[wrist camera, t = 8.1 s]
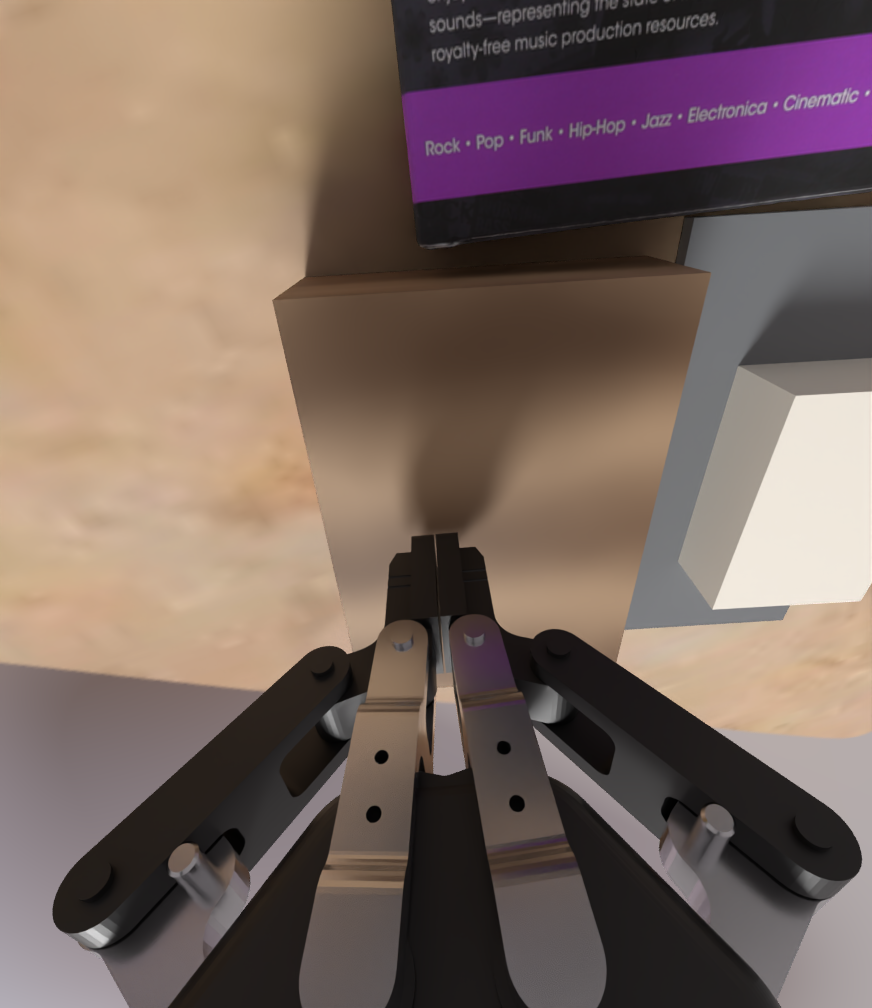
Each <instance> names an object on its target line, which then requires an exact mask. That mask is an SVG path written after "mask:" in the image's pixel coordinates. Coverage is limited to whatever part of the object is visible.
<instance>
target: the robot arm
mask: <svg viewBox="0 0 872 1008" xmlns="http://www.w3.org/2000/svg"><path fill="white" fill-rule="evenodd" d="M436 552H437V560H436ZM441 630H442V633H441ZM442 640H443V649H444V658H445V668H446V673H451V672H452V676H453V686H454V697H455V704H456V710H457V716H458V723H459V729H460V735H461V742H462V747H463V754H464V760H465V767H466V769H465V770H462V771H460V772H456V773H454V774H451V775H447V776H441V775H436V774H434V773H433V758H434V757H433V756H434V736H435V715H436V692H437V677H436V674H441V673H444V669H443V651H442ZM533 726H534V727H535V728H536V729H537V730H538V731H539V732H540V733H541V734H542V735H543V736H545V737H546V738H547V739H548V740H549V741H550V742H551V743H552V744H553V745H555V746H556V747H557V748H558V749H559V750H560V751H561V752H562V753H564V754H565V755H566V756H567V757H568V758H569V759H570V760H572V762H574V763H575V764H576V765H577V766H578V767H579V768H580V769H581V770H582V771H583V772H585V773H586V774H587V775H588V776H589V777H590V778H591V779H592V780H594V781H595V782H596V783H597V784H598V785H599V786H600V787H601V788H602V789H604V790H605V791H606V792H607V793H608V794H609V795H610V796H611V797H613V798H614V799H615V800H616V801H617V802H618V803H619V804H620V805H621V806H623V807H624V808H625V809H626V810H627V811H628V812H629V813H630V814H632V815H633V816H634V817H635V818H636V819H637V820H638V821H639V822H640V823H642V824H643V825H644V826H645V827H646V828H647V829H648V830H649V831H650V832H652V833H653V834H654V835H655V836H656V837H657V838H658V839H659V840H660V841H659V854H660V859H661V862H662V865H663V867H664V869H665V871H666V873H667V874H668V876H669V877H670V879H671V880H672V881H673V882H674V884H675V885H676V886H677V887H678V888H679V890H680V891H681V892H682V893H683V895H684V896H685V898H686V899H687V901H688V903H689V904H690V906H691V907H690V906H689V905H688V904H687V903H686V902H685V901H684V900H683V899H682V898H681V897H680V896H679V895H678V894H677V893H676V892H675V891H674V890H673V889H672V888H671V887H670V886H669V885H668V884H667V883H666V882H665V881H664V880H663V879H662V878H661V877H660V876H659V875H658V874H657V873H656V872H655V871H654V870H653V869H652V868H651V867H650V866H649V865H648V864H647V863H646V861H644V859H642V858H641V856H640V855H639V854H638V853H636V851H635V850H633V849H632V848H631V847H630V845H629V844H628V843H627V842H625V840H623V838H622V837H621V836H620V835H619V834H618V833H617V832H616V831H615V830H614V829H613V828H611V826H610V825H608V824H607V822H606V821H604V819H603V818H602V817H601V816H600V815H599V814H597V812H596V811H595V810H594V809H593V808H592V807H591V806H590V805H589V804H588V803H586V801H585V800H584V799H582V798H581V797H580V796H579V795H578V794H577V793H576V792H574V791H573V790H572V789H571V788H569V787H568V786H566V785H565V784H563V783H561V782H560V781H558V780H556V779H554V778H552V777H549V776H548V775H547V772H546V768H545V765H544V762H543V759H542V755H541V752H540V748H539V745H538V742H537V738H536V735H535V732H534V729H533ZM347 757H348V759H347V764H346V769H345V774H344V779H343V784H342V789H341V794H340V795H339V796H338V797H336V798H335V799H334V800H332V801H331V802H330V803H329V804H327V805H326V806H325V807H324V808H323V809H322V810H321V811H320V812H319V813H318V814H317V816H316V817H315V818H314V819H313V821H312V822H311V823H310V825H309V826H308V827H307V828H306V830H305V831H304V832H303V834H302V835H301V836H300V837H299V839H298V840H297V841H296V843H295V844H294V845H293V846H292V848H291V849H290V850H289V852H288V853H287V854H286V856H285V857H284V858H283V859H282V861H281V862H280V863H279V865H278V866H277V867H276V868H275V870H274V871H273V872H272V874H271V875H270V876H269V878H268V879H267V880H266V881H265V883H264V884H263V885H262V887H261V888H260V889H259V890H258V892H257V893H256V894H255V896H254V897H253V898H252V899H251V901H250V902H249V903H248V905H247V906H246V907H245V909H244V910H243V911H242V909H243V907H244V905H245V903H246V901H247V898H248V894H249V890H250V873H249V872H250V871H251V870H252V868H253V867H254V866H255V865H256V864H257V862H258V861H259V860H260V859H261V858H262V857H263V855H264V854H265V853H266V852H267V851H268V849H269V848H270V847H271V846H272V845H273V843H274V842H275V841H276V840H277V839H278V838H279V837H280V835H281V834H282V833H283V832H284V830H286V828H287V827H288V826H289V825H290V824H291V822H292V821H293V820H294V819H295V818H296V816H297V815H298V814H299V813H300V812H301V811H302V809H303V808H304V807H305V806H306V805H307V804H308V802H309V801H310V800H311V799H312V798H313V797H314V795H315V794H316V793H317V792H318V791H319V790H320V788H321V787H322V786H323V785H324V783H325V782H326V781H327V780H328V779H329V778H330V777H331V775H332V774H333V773H334V772H335V771H336V769H337V768H338V767H339V766H340V765H341V764H342V762H343V761H344V760H345V759H346V758H347ZM861 863H862V855H861V850H860V847H859V844H858V842H857V840H856V837H855V836H854V835H853V832H852V831H851V829H850V828H849V827H848V825H847V824H846V823H845V822H844V821H843V820H842V819H841V817H840V816H838V815H837V814H836V813H835V812H834V811H833V810H832V809H830V808H829V807H827V806H826V805H825V804H824V803H822V802H820V801H819V800H817V799H816V798H815V797H813V796H812V795H810V794H809V793H807V792H806V791H804V790H803V789H801V788H800V787H798V786H797V785H795V784H794V783H793V782H791V781H790V780H788V779H787V778H785V777H784V776H782V775H781V774H779V773H778V772H776V771H775V770H773V769H772V768H770V767H769V766H767V765H766V764H764V763H763V762H761V761H760V760H759V759H757V758H756V757H754V756H752V755H751V754H749V753H748V752H747V751H745V750H744V749H742V748H741V747H739V746H738V745H736V744H735V743H733V742H732V741H731V740H729V739H728V738H726V737H725V736H723V735H722V734H720V733H719V732H717V731H716V730H714V729H713V728H711V727H710V726H708V725H707V724H705V723H704V722H702V721H701V720H700V719H698V718H697V717H695V716H694V715H692V714H691V713H689V712H688V711H686V710H685V709H683V708H682V707H680V706H679V705H677V704H676V703H674V702H673V701H671V700H670V699H669V698H667V697H666V696H664V695H663V694H661V693H660V692H658V691H657V690H655V689H654V688H652V687H651V686H649V685H648V684H646V683H645V682H643V681H642V680H640V679H639V678H638V677H636V676H635V675H633V674H632V673H630V672H629V671H627V670H626V669H624V668H623V667H621V666H620V665H618V664H617V663H615V662H614V661H612V660H611V659H609V658H608V657H607V656H605V655H604V654H602V653H601V652H599V651H598V650H596V649H595V648H593V647H592V646H590V645H589V644H587V643H586V642H584V641H583V640H581V639H580V638H578V637H577V636H576V635H574V634H572V633H570V632H568V631H565V630H561V629H548V630H545V631H542V632H540V633H539V634H537V635H536V636H535V637H534V639H532V638H526V637H521V636H517V635H514V634H511V633H509V632H508V631H506V630H505V629H503V628H502V627H501V626H500V625H499V624H498V622H497V620H496V618H495V615H494V610H493V604H492V599H491V593H490V588H489V582H488V577H487V572H486V566H485V561H484V556H483V555H482V554H481V553H480V552H479V550H478V549H477V548H476V547H464V548H459V539H458V532H455V533H443V534H436V550H435V541H434V534H432V535H421V536H412V537H411V552H405V553H396V555H395V556H394V558H393V559H392V561H391V563H390V564H389V574H388V589H387V601H386V614H385V625H384V628H383V629H382V631H381V632H380V633H379V635H378V638H377V640H376V641H375V642H374V643H372V644H371V645H369V646H368V647H366V648H363V649H361V650H358V651H355V652H353V653H350V654H346V652H345V651H343V650H342V649H340V648H338V647H334V646H325V647H320V648H317V649H315V650H313V651H311V652H309V653H308V654H307V655H305V656H304V657H303V658H302V659H301V660H300V661H299V662H298V663H297V664H295V665H294V666H293V667H292V668H291V669H290V670H289V671H288V672H287V673H285V674H284V675H283V676H282V677H281V678H280V679H279V680H278V681H277V682H276V683H274V684H273V685H272V686H271V687H270V688H269V689H268V690H267V691H266V692H264V693H263V694H262V695H261V696H260V697H259V698H258V699H257V700H256V701H255V702H253V703H252V704H251V705H250V706H249V707H248V708H247V709H246V710H245V711H243V712H242V713H241V714H240V715H239V716H238V717H237V718H236V719H235V720H234V721H233V722H231V723H230V724H229V725H228V726H227V727H226V728H225V729H224V730H222V732H220V733H219V734H218V735H217V736H216V737H215V738H214V739H213V740H212V741H210V742H209V743H208V744H207V745H206V746H205V747H204V748H203V749H202V750H200V751H199V752H198V753H197V754H196V755H195V756H194V757H193V758H192V759H190V760H189V761H188V762H187V763H186V764H185V765H184V766H183V767H182V768H180V769H179V770H178V771H177V772H176V773H175V774H174V775H173V776H172V777H171V778H169V779H168V780H167V781H166V782H165V783H164V784H163V785H162V786H161V787H160V788H159V789H158V790H156V791H155V792H154V793H153V794H152V795H151V796H150V797H148V798H147V799H146V800H145V801H144V802H143V803H142V804H141V805H140V806H138V807H137V808H136V809H135V810H134V811H133V812H132V813H131V814H130V815H129V816H128V817H127V818H125V819H124V820H123V821H122V822H121V823H120V824H119V825H118V826H116V827H115V828H114V829H113V830H112V831H111V832H110V833H109V834H108V835H106V836H105V837H104V838H103V839H102V840H101V841H100V842H99V843H98V844H97V845H96V846H94V847H93V848H92V849H91V850H90V851H89V852H88V853H87V854H86V855H84V856H83V857H82V858H81V859H80V860H79V861H78V862H77V863H76V864H75V865H74V867H73V868H72V869H71V870H70V871H69V873H68V874H67V875H66V877H65V878H64V880H63V882H62V883H61V885H60V887H59V889H58V892H57V894H56V896H55V900H54V904H53V920H54V923H55V925H56V927H57V928H58V929H59V930H61V931H62V932H64V933H65V934H67V935H68V936H70V937H72V938H73V939H75V940H76V941H78V943H79V945H80V946H81V947H82V948H83V949H85V950H86V951H88V952H90V953H91V954H93V955H95V956H96V957H98V958H99V959H101V960H103V961H104V962H105V964H106V966H107V968H108V970H109V971H110V973H111V975H112V977H113V979H114V981H115V982H116V984H117V986H118V988H119V990H120V991H121V993H122V995H123V997H124V999H125V1000H126V1002H127V1004H128V1006H129V1008H781V1006H780V1005H779V1003H778V1001H777V998H778V995H779V993H780V991H781V988H782V986H783V984H784V982H785V979H786V977H787V974H788V972H789V970H790V968H791V965H792V963H793V960H794V958H795V956H796V953H797V951H798V949H799V946H800V944H801V941H802V939H803V937H804V935H805V932H806V930H807V927H808V925H809V923H810V920H811V918H812V916H813V915H814V914H816V913H817V912H818V911H819V910H820V909H821V908H822V907H823V906H824V905H825V904H826V903H827V902H828V901H829V900H830V899H831V898H832V897H834V896H835V894H836V893H838V892H839V891H840V890H841V889H842V888H843V887H844V886H845V885H846V884H847V883H848V882H849V881H850V880H851V879H852V878H854V877H855V876H856V874H857V873H858V872H859V870H860V867H861ZM241 911H242V912H241ZM240 913H241V914H240ZM239 914H240V915H239ZM237 917H238V918H237Z"/></svg>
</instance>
